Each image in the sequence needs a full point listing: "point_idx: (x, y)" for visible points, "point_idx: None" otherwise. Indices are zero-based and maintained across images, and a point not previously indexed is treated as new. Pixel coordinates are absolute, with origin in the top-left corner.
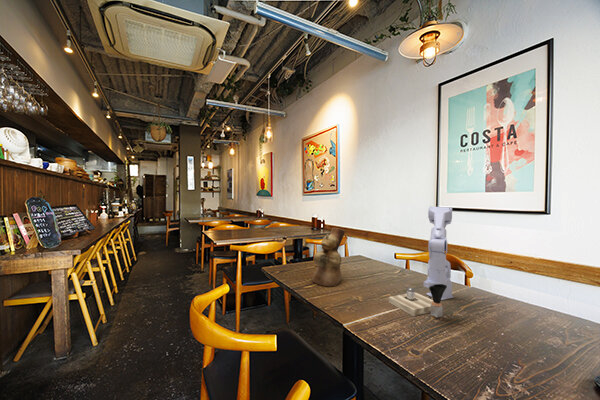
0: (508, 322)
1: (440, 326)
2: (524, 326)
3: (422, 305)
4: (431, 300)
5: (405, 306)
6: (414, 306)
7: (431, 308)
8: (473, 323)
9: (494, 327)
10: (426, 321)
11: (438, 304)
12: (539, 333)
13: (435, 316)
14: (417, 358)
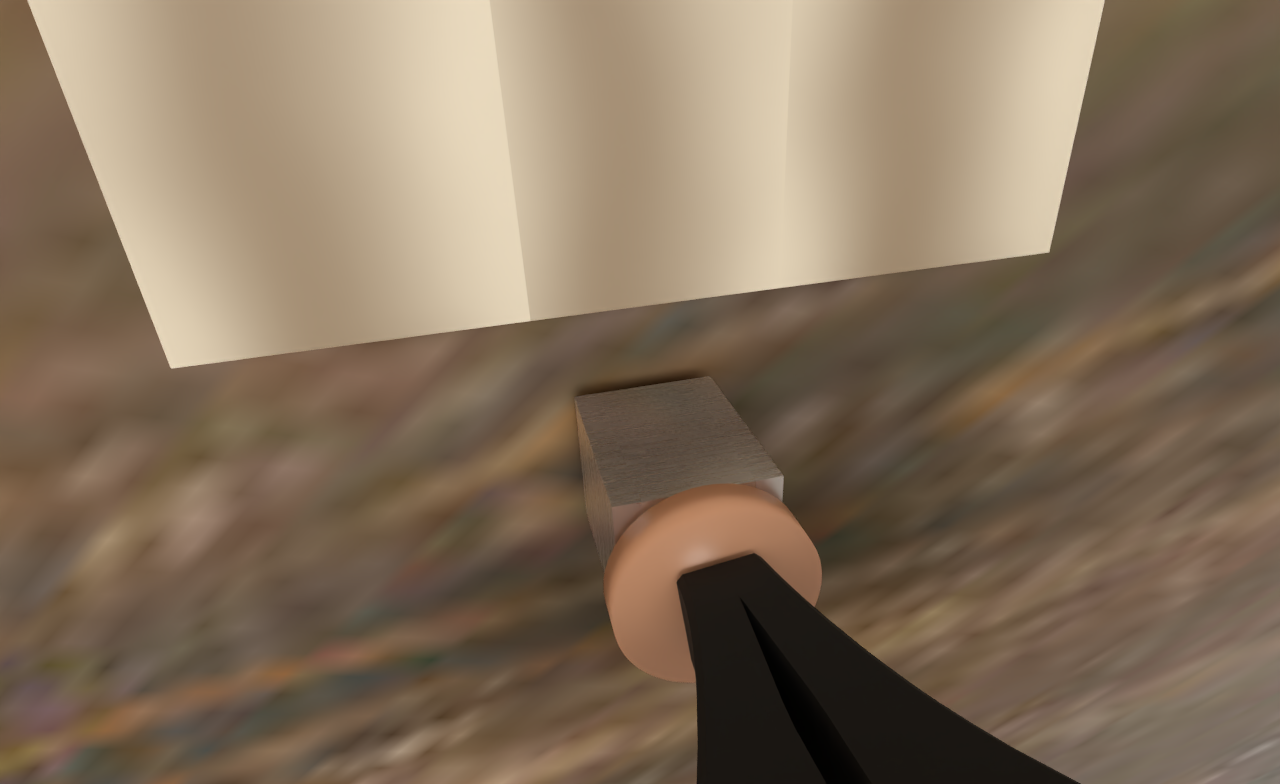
0: (1250, 628)
1: (465, 647)
2: (1261, 689)
3: (596, 205)
4: (1057, 14)
5: (67, 81)
6: (332, 203)
7: (598, 478)
8: (937, 618)
9: (1029, 692)
10: (352, 515)
11: (678, 674)
12: (1206, 770)
13: (586, 488)
14: None
